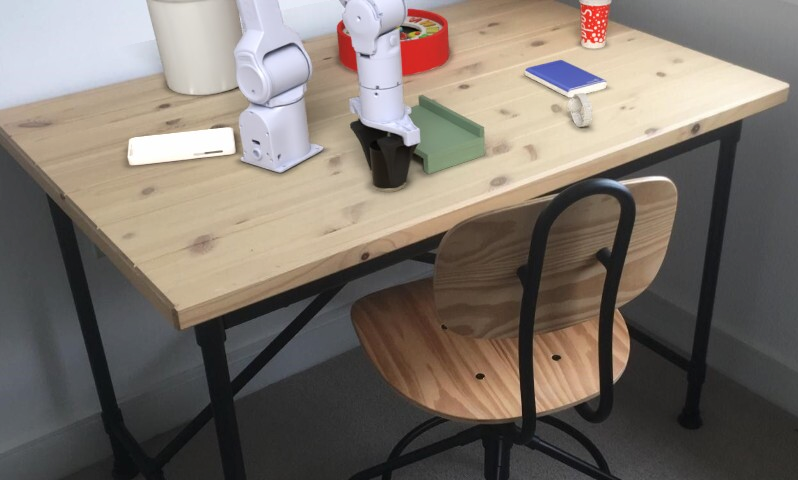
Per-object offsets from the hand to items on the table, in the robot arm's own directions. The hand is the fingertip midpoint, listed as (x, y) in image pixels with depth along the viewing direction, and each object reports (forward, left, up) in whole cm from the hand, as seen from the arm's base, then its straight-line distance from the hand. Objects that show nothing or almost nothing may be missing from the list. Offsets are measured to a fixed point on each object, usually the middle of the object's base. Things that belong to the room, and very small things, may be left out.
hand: (388, 176), depth 133 cm
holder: (0, 0, -1) cm, 1 cm away
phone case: (-7, +33, -2) cm, 34 cm away
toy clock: (+42, +31, -2) cm, 52 cm away
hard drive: (+47, -2, -2) cm, 47 cm away
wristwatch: (+32, -13, -2) cm, 35 cm away
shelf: (+13, +3, -1) cm, 13 cm away
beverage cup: (+67, +3, -2) cm, 67 cm away
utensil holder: (+15, +51, -2) cm, 53 cm away
